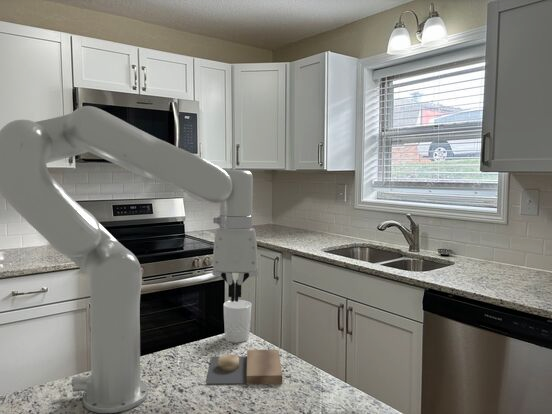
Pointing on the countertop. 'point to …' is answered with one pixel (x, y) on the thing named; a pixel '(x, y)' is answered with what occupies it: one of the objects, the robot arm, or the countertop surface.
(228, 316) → the white cup
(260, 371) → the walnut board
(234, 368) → the cream dome knob
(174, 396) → the countertop surface
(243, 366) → the rubber mat
